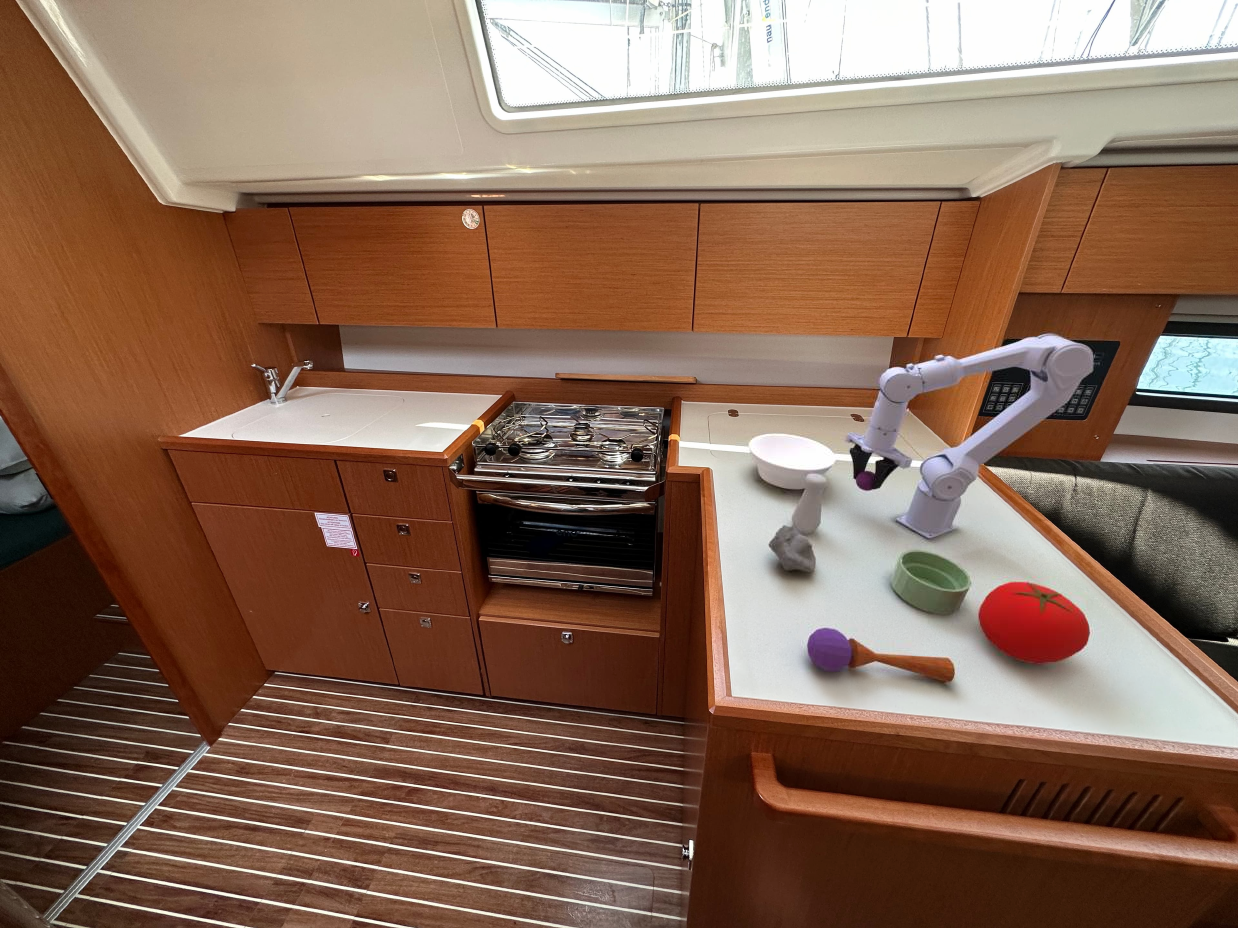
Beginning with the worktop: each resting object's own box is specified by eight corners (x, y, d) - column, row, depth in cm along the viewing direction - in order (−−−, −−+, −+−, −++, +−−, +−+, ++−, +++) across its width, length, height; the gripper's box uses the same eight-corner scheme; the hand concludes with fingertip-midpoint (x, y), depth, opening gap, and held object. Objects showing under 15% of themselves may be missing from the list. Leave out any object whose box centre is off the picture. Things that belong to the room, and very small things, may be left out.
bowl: (818, 509, 109) (827, 478, 106) (732, 483, 119) (737, 454, 115) (834, 474, 125) (842, 446, 122) (757, 453, 135) (762, 427, 131)
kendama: (967, 679, 64) (819, 653, 65) (944, 699, 68) (805, 675, 69) (949, 640, 69) (812, 616, 70) (928, 661, 72) (798, 638, 73)
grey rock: (815, 589, 85) (825, 554, 81) (763, 578, 87) (771, 543, 83) (812, 553, 94) (821, 520, 91) (766, 544, 97) (773, 511, 93)
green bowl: (914, 567, 92) (923, 544, 89) (972, 604, 83) (985, 580, 80) (876, 582, 87) (885, 559, 85) (934, 623, 78) (946, 599, 76)
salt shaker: (819, 538, 99) (835, 485, 93) (791, 534, 100) (804, 481, 94) (815, 523, 104) (829, 471, 98) (788, 519, 105) (800, 468, 99)
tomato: (950, 625, 78) (976, 574, 73) (1009, 612, 82) (1037, 561, 76) (1022, 686, 68) (1058, 631, 63) (1086, 667, 71) (1124, 614, 66)
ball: (862, 483, 107) (868, 466, 105) (879, 492, 104) (885, 474, 102) (849, 486, 106) (854, 469, 104) (865, 496, 102) (871, 478, 100)
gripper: (842, 416, 102) (827, 471, 108) (903, 442, 90) (882, 502, 97) (864, 412, 105) (848, 466, 111) (926, 437, 93) (905, 495, 99)
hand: (866, 483), depth 104 cm, fingers closed on ball, 4 cm apart
